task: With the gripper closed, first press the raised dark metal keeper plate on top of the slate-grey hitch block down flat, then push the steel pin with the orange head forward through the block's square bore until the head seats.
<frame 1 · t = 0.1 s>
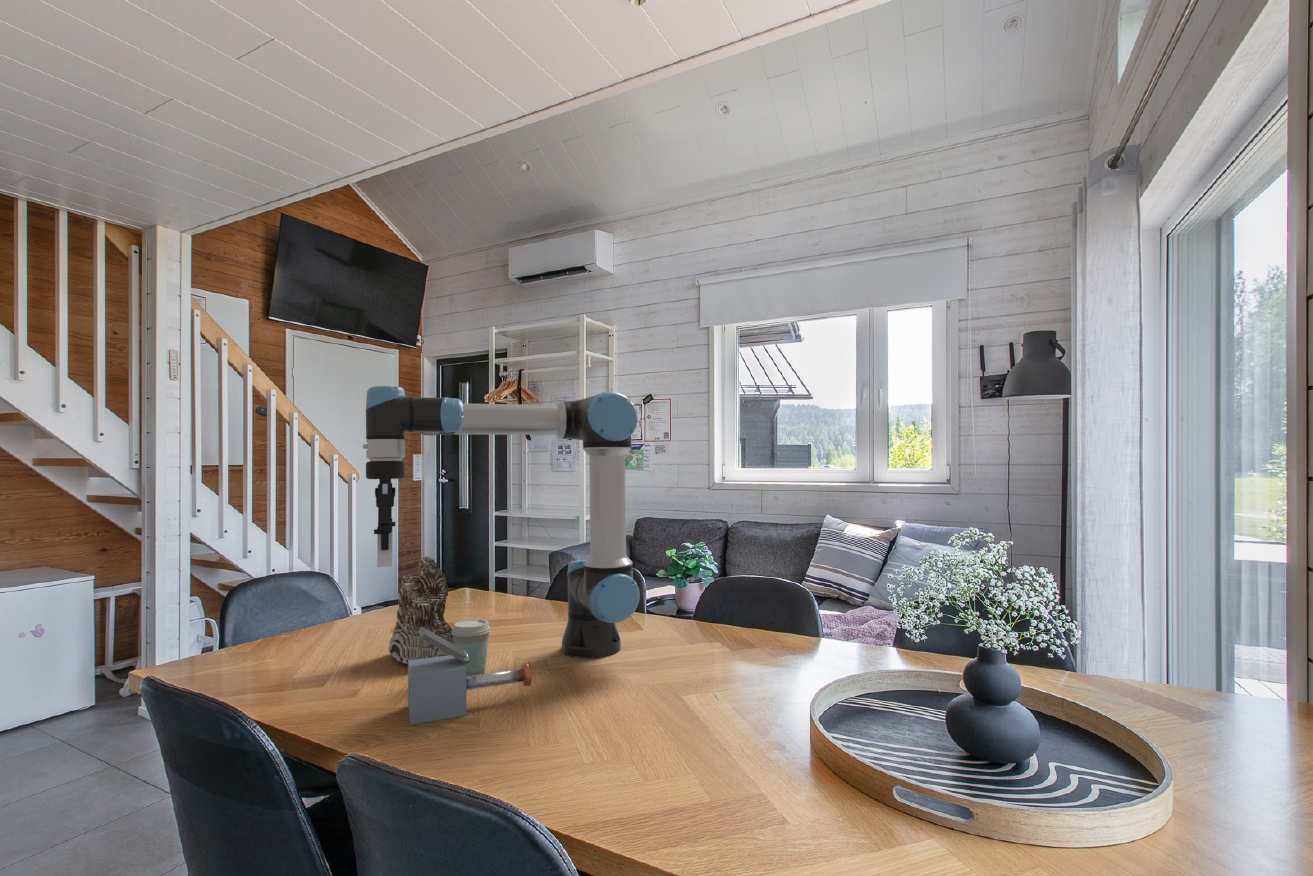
hand: (385, 561, 135), 28 cm above the table, fingers open, 13 cm apart
lynch pin: (491, 679, 131), point 5 cm above the table, slide at 0.0 cm
coffee cup: (471, 677, 147), on the table
keeper plate: (444, 644, 128), point 13 cm above the table, hinge at 35.0°
hitch block: (436, 710, 127), on the table
sculpture: (423, 659, 160), on the table
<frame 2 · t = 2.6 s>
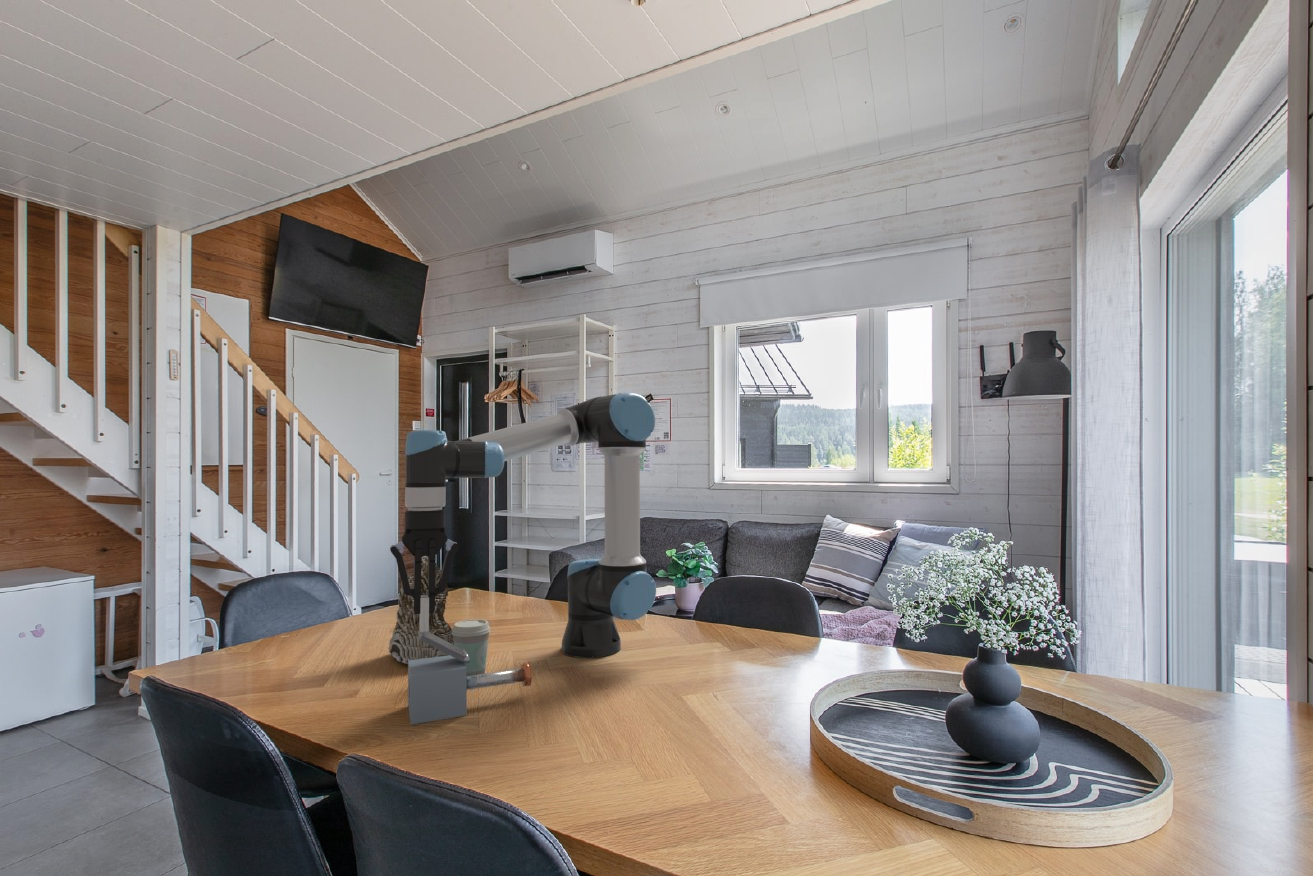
hand: (424, 630, 126), 16 cm above the table, fingers closed
keeper plate: (444, 645, 128), point 12 cm above the table, hinge at 33.1°, touching gripper
everything else where it was.
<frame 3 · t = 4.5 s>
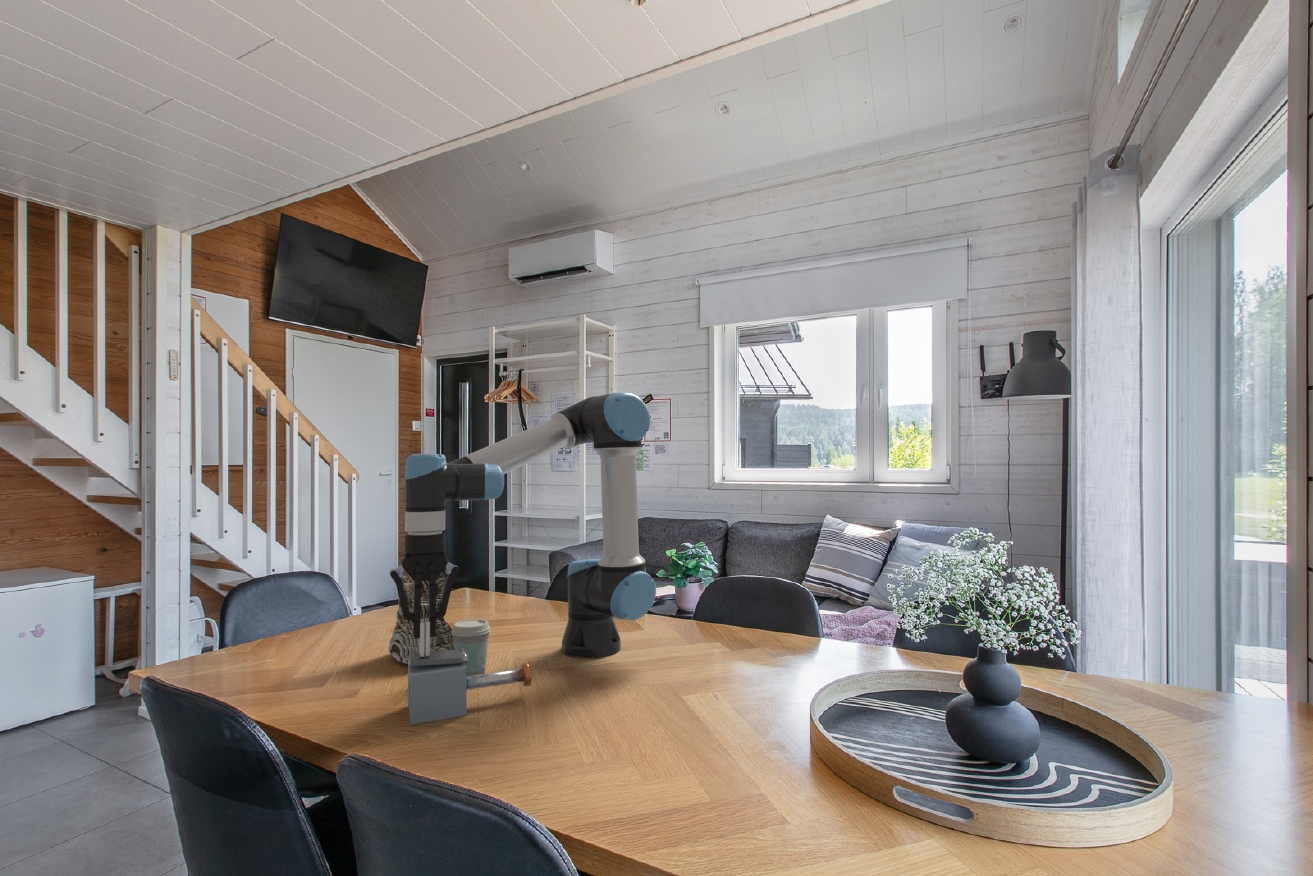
hand: (424, 654, 126), 11 cm above the table, fingers closed
keeper plate: (438, 657, 127), point 10 cm above the table, hinge at 4.2°, touching gripper
everything else where it was.
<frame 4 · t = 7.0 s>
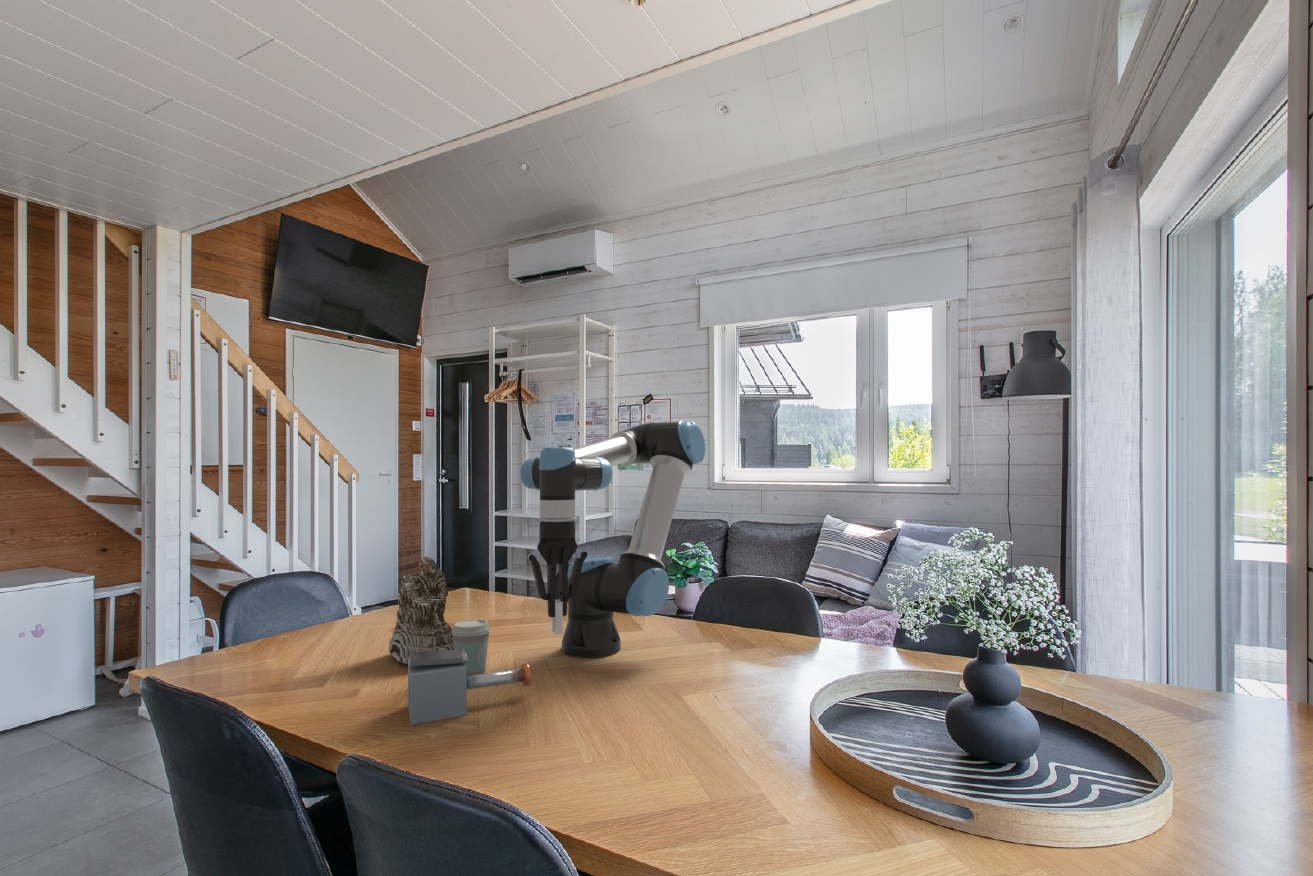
hand: (557, 632, 137), 12 cm above the table, fingers closed
keeper plate: (438, 657, 127), point 10 cm above the table, hinge at 4.2°
everything else where it was.
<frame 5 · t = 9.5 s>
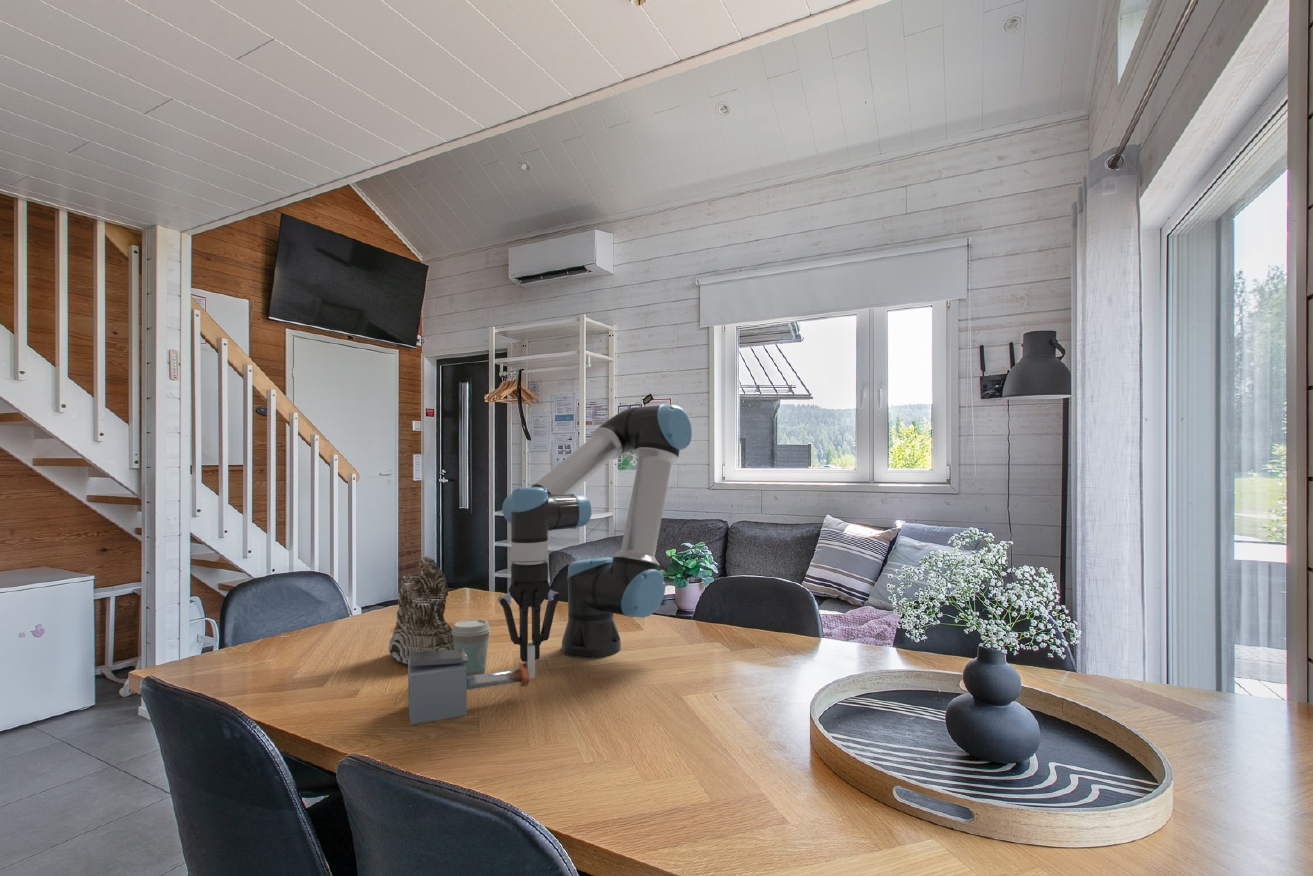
hand: (529, 676, 134), 4 cm above the table, fingers closed
lynch pin: (488, 679, 131), point 5 cm above the table, slide at 0.6 cm, touching gripper
everything else where it was.
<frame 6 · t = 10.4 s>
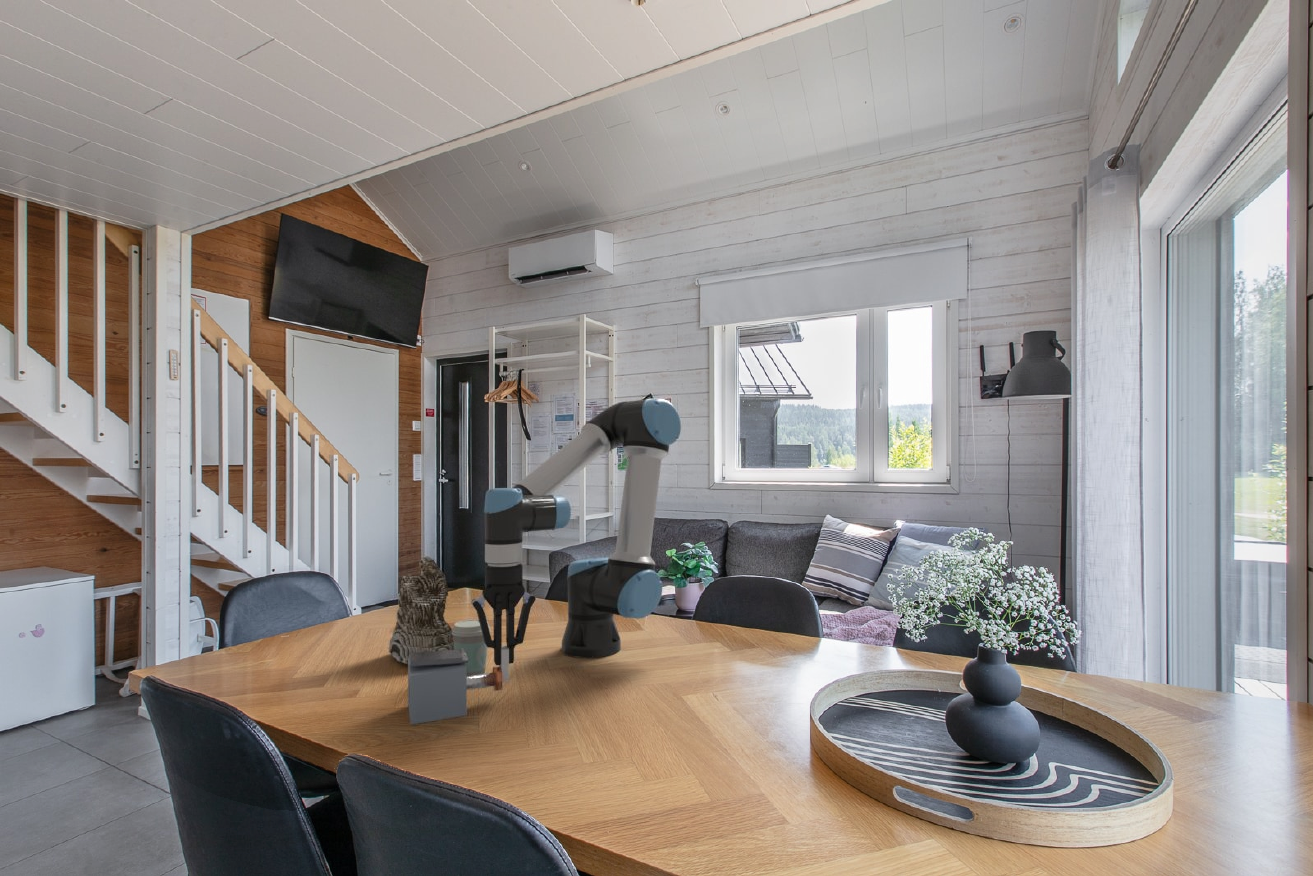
hand: (504, 680, 132), 4 cm above the table, fingers closed
lynch pin: (461, 683, 129), point 4 cm above the table, slide at 5.9 cm, touching gripper
everything else where it was.
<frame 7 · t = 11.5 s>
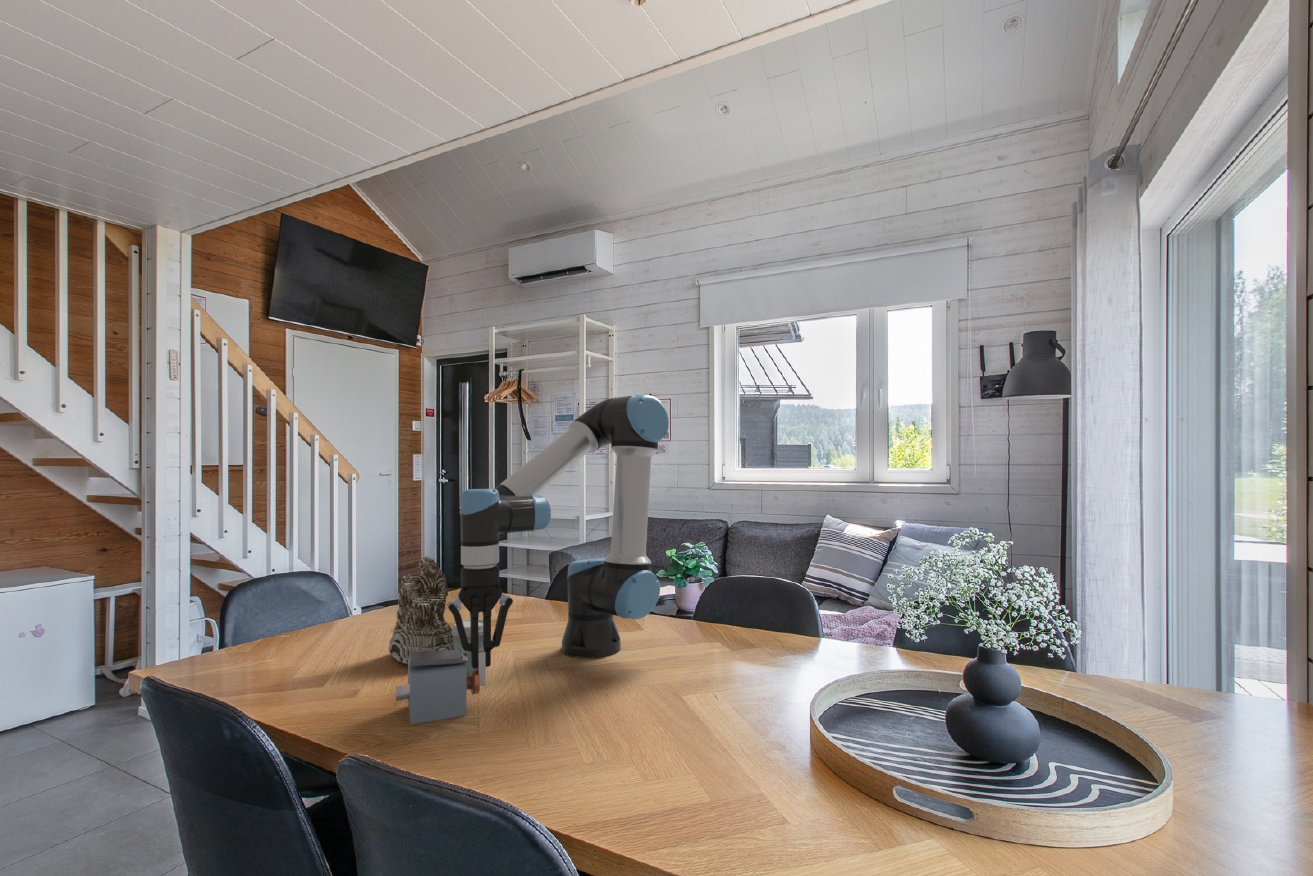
hand: (481, 683, 130), 4 cm above the table, fingers closed
lynch pin: (438, 687, 127), point 4 cm above the table, slide at 10.4 cm, touching gripper
keeper plate: (438, 657, 127), point 10 cm above the table, hinge at 4.2°, touching gripper
everything else where it was.
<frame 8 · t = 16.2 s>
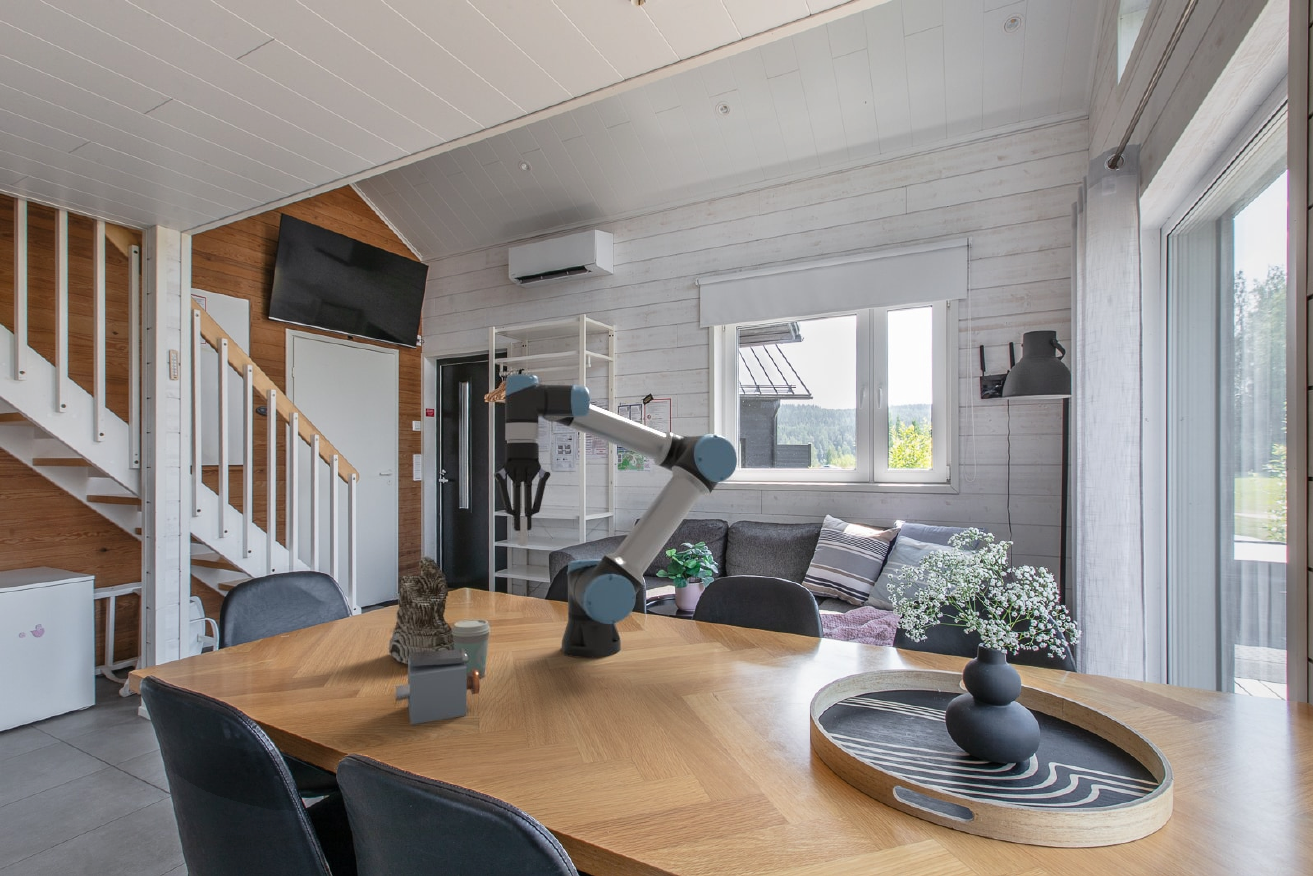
hand: (522, 544, 148), 29 cm above the table, fingers closed
lynch pin: (438, 687, 127), point 4 cm above the table, slide at 10.4 cm
keeper plate: (438, 657, 127), point 10 cm above the table, hinge at 4.2°
everything else where it was.
at the end: lynch pin slide at 10.4 cm; keeper plate at +4° (first picture: +35°) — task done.
